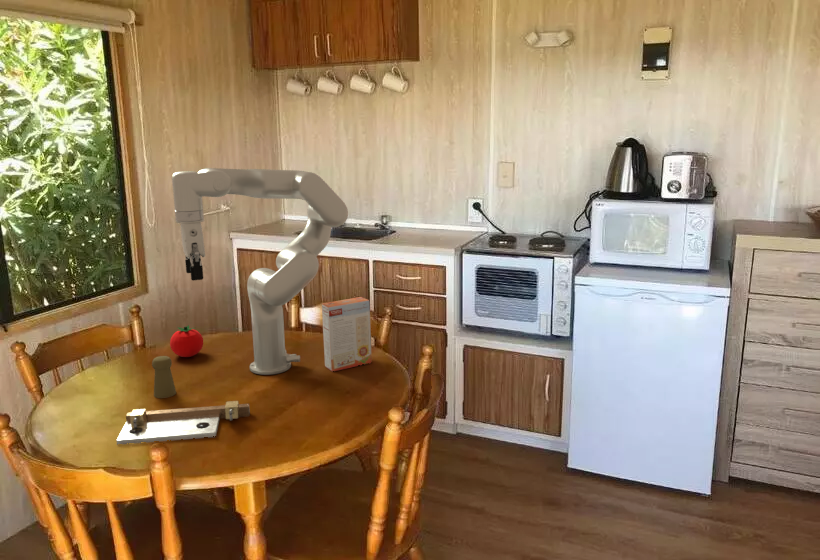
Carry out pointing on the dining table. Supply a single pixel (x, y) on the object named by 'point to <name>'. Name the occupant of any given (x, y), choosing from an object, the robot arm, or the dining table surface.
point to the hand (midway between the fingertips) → (194, 276)
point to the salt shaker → (163, 377)
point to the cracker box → (346, 333)
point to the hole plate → (174, 424)
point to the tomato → (186, 342)
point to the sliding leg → (232, 410)
